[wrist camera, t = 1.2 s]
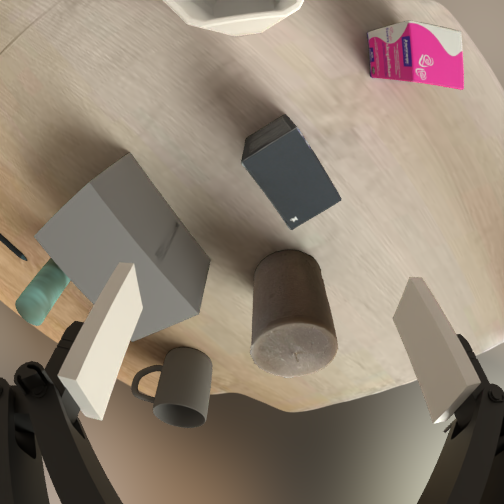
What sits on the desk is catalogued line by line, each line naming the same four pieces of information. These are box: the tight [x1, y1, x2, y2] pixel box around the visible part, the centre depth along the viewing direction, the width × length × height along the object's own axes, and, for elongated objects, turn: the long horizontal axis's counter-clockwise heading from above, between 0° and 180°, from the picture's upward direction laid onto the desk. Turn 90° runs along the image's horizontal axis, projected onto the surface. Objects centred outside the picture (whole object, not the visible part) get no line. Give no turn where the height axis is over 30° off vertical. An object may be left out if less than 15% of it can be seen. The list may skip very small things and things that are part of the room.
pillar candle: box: [250, 250, 338, 378], centre depth 38 cm, size 10×10×15 cm
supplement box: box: [367, 20, 464, 90], centre depth 23 cm, size 6×6×12 cm
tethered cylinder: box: [15, 258, 70, 326], centre depth 34 cm, size 6×17×14 cm, turn 121°
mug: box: [131, 347, 212, 428], centre depth 49 cm, size 14×9×12 cm
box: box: [241, 114, 341, 230], centre depth 30 cm, size 8×6×11 cm
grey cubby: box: [34, 153, 211, 342], centre depth 35 cm, size 18×11×11 cm, turn 31°
